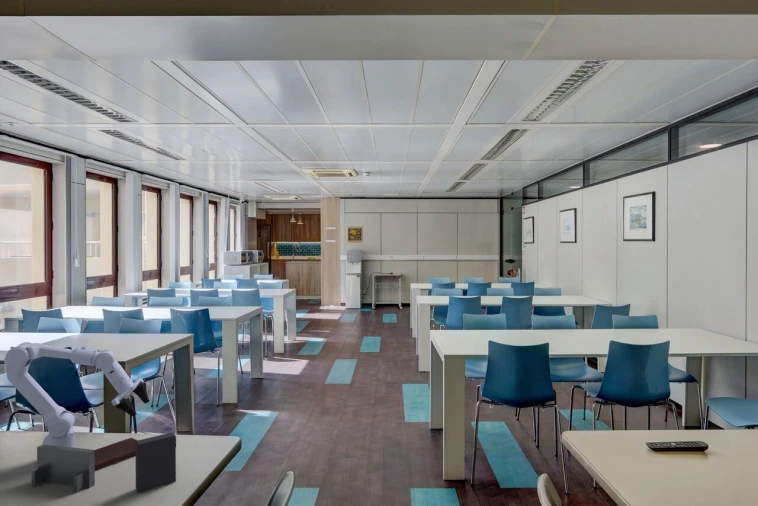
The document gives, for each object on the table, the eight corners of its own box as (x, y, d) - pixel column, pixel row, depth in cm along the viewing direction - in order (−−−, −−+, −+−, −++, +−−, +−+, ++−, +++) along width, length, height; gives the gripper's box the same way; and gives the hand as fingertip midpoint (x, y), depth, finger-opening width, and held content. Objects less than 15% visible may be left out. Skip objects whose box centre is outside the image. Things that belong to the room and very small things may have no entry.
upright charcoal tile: (173, 477, 147) (172, 431, 147) (176, 482, 143) (176, 435, 143) (135, 488, 140) (134, 440, 140) (137, 494, 136) (137, 444, 136)
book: (148, 453, 166) (148, 444, 166) (90, 474, 150) (90, 464, 150) (130, 445, 173) (130, 437, 173) (74, 464, 157) (74, 455, 157)
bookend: (28, 486, 142) (27, 451, 142) (43, 478, 147) (42, 444, 147) (81, 493, 138) (80, 456, 138) (94, 484, 142) (94, 449, 142)
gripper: (113, 387, 159) (135, 417, 162) (140, 365, 173) (160, 393, 176) (99, 393, 161) (121, 423, 164) (127, 371, 175) (147, 399, 177)
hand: (140, 408), depth 170 cm, fingers open, 7 cm apart
